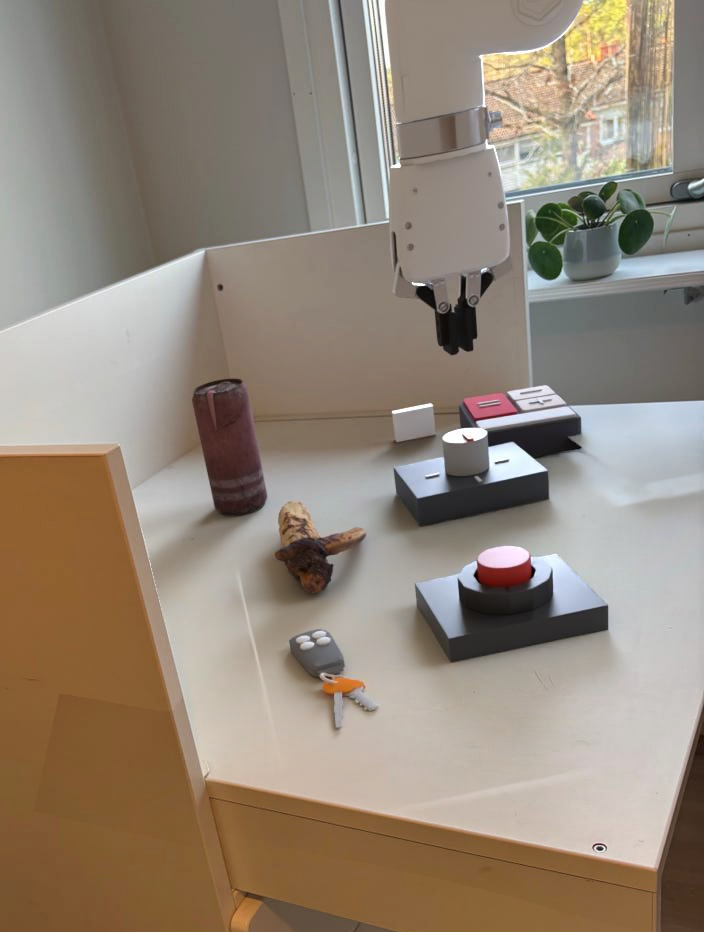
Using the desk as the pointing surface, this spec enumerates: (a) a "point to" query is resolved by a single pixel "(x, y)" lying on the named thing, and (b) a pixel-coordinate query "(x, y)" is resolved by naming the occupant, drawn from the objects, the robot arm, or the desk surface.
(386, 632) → the desk surface
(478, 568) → the power button
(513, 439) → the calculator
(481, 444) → the knob
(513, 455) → the dial panel
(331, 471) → the desk surface
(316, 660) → the key chain
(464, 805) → the desk surface
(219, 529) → the desk surface
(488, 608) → the button base
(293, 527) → the brown gnarled root
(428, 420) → the eraser
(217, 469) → the can
